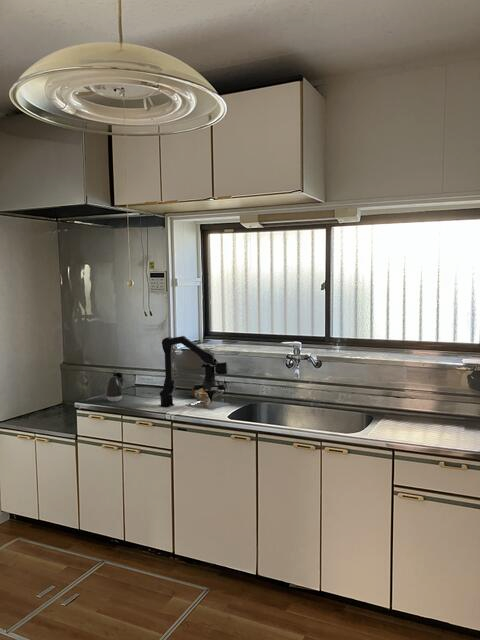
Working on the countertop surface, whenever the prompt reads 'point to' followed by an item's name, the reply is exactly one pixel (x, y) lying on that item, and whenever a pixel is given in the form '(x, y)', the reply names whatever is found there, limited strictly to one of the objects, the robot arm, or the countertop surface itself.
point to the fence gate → (206, 401)
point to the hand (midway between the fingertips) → (211, 401)
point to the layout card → (209, 405)
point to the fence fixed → (201, 396)
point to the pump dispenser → (114, 389)
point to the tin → (194, 392)
